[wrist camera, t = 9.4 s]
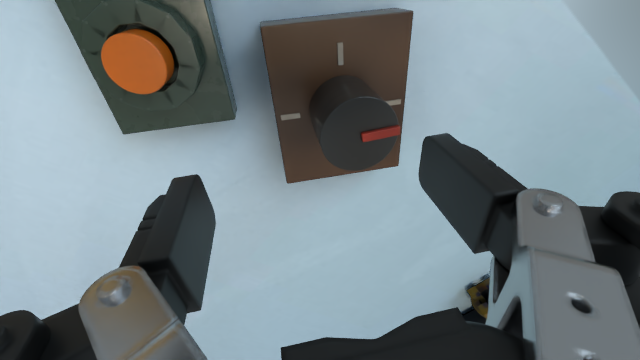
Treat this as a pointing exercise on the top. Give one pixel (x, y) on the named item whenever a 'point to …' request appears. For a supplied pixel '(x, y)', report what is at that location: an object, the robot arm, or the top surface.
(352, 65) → the dial base block
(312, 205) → the top surface
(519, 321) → the robot arm
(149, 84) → the button
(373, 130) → the dial knob
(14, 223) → the top surface
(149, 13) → the button box
